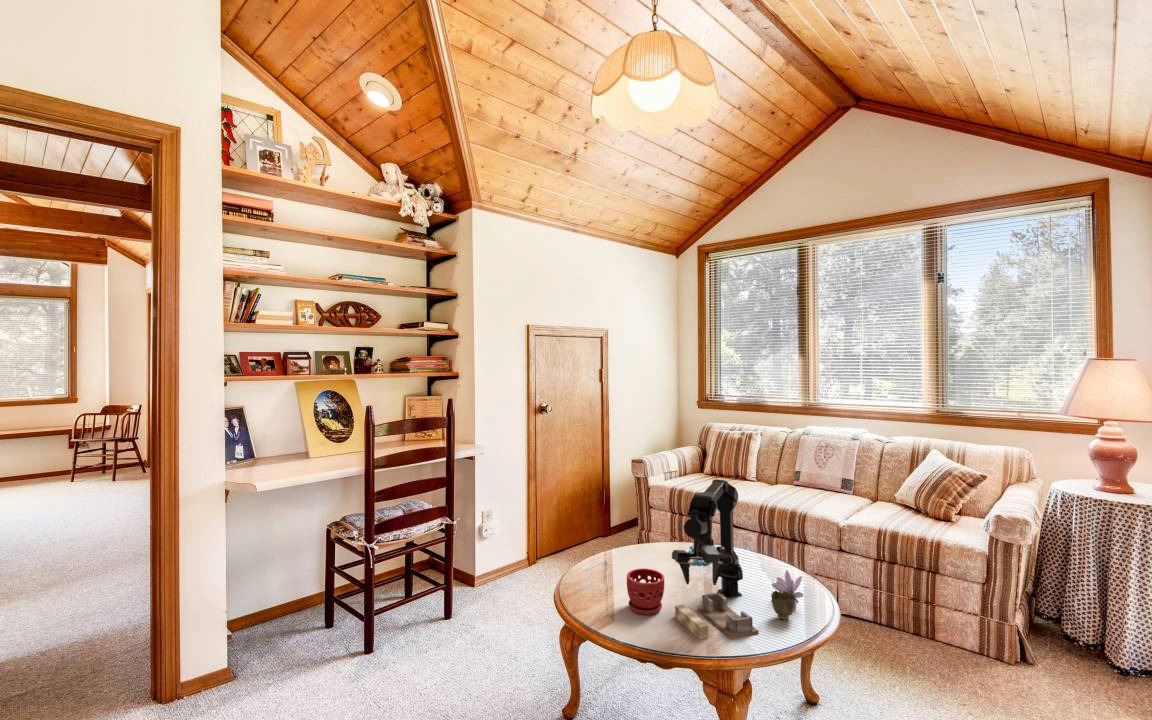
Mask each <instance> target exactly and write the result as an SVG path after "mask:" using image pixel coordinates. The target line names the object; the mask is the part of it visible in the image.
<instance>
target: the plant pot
mask: <svg viewBox="0 0 1152 720" xmlns="http://www.w3.org/2000/svg"><path fill="white" fill-rule="evenodd" d="M649 577H650V579H649ZM642 580H643V581H645V582H641V581H642ZM626 590H627V595H628V598H629V600H628V607H629V608H630V609H631V611H632V612H634V613H637V614H641V615H654V614H657V613H658V612H659V611H660V610H662V608H663V607H662V606H663V603H662V600H663V597H664V592H665V576H664V573H662V572H660V571H658V570H655V569H652V568H651V569H650V568H644V567H643V568H636V569H632V570H630V571H628V572H627V574H626Z"/></svg>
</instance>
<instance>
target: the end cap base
mask: <svg viewBox="0 0 1152 720" xmlns="http://www.w3.org/2000/svg"><path fill="white" fill-rule="evenodd" d="M727 603H728V600H727V597H725V596H724V595H722V594H721V593H720V592H716V593H708V594H707V593H706V594H703V595H702V605H700V606H697V611H698V612H699V613H700V614H702V615H703V616H704V617H705V618H707V619H708V620H709V621H710V622H711V623H712V624H713V625H714V626H716V627H717V628H718V629H719V630H720V631H721V632H723V633H724V635H726V636H727V637H729V639H735V638H742V637H747V636H753V635H759V634H760V633H759V630H758V629H757V628H756V627H754V626H753V617H752V616H751V615H750V614H748V613H747V612H745V611H744V610H743V611H740V615H739V614H737V612H735V611H734V610H732V609H731V608H730V607H728V604H727Z"/></svg>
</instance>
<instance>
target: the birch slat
mask: <svg viewBox="0 0 1152 720" xmlns="http://www.w3.org/2000/svg"><path fill="white" fill-rule="evenodd" d="M674 617H675V618H676V619H677V620H678V622H680V623H681V622H682V625H683V626H685V627H686V628H687V629H688V630H689V631H691V632H692V634H694V635H695V636H696V637H697V638H698V639H699V640H703V639H707V638H709V625H708V624H707V623H706V622H705V621H703V620H702V619H701V618H700V617H699V616H698V615H696V614H695V613H694V612H693V611H691V609H689V608H688V607H687V606H686V605H685V604H676V605H674Z"/></svg>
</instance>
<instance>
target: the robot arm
mask: <svg viewBox="0 0 1152 720" xmlns="http://www.w3.org/2000/svg"><path fill="white" fill-rule="evenodd" d="M738 501H739V493H738V490H737V488H736V487H734V486H733V485H731V484H730V483H729V481H728V480H725V479H717V478H716V479H712V481H711V484H710V485H709V486H708V487H707V488H706V489H705V491H703V492H697V493H696V494H693V496H692V497H691V500H690V503H689V507H688V511H687V516H689V519H687V520H686V521H685V523H684V525H683V531H684V533H685V535H686V536H687V537H688V538H691V540H692V541H693V545H692V547H693V549H692V550H691V552H692V553H688V552H689V551H686V550H684V549H673V551H672V552H671V559H672V560H674V561H675V562H676V563H677V564H678V565H679V567H680V569H681V571H682V572H681V573H682V574H683V577H684V578H683V579H684V581H685V584H686V585H687V586H689V584H690V567H691V563H690V560H692V561H693V560H698V561H700V560H702V561H703V563H704V562H705V563H707V564H710V563H711V565H712V568H711V569H712V570H711V571H712V572H711V573H712V575H711V576H712V579H711V580H712V585H713V586H716V585H717V582H718V579H719V578H721V579H720V580H721V585H720V586H721V588H719V589H717V593H720V594H721V595H722V596H724V597H725V598H726V599H727V598H733V597H742V595H743V594H742V593H741V592H740V591H739V582H740V581H741V580H743V579H744V576H743V575H744V574H743V573H744V572H743V569H742V566H741V564H740V560H739V556H738V554H737V553H736V551H735V549H734V515H733V514H734V513H733V512H734V510H735V508H736V507H737V505H738ZM716 511H718V512H719V527H720V528H719V529H720V530H719V532H720V533H719V534H720V535H719V536H720V537H719V538H720V545H719V546H715V544H714V543H715V542H714V539H713V538H712V537H713V535H712V534H713V519H714V517H715V516H716ZM697 556H698V557H697Z"/></svg>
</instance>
